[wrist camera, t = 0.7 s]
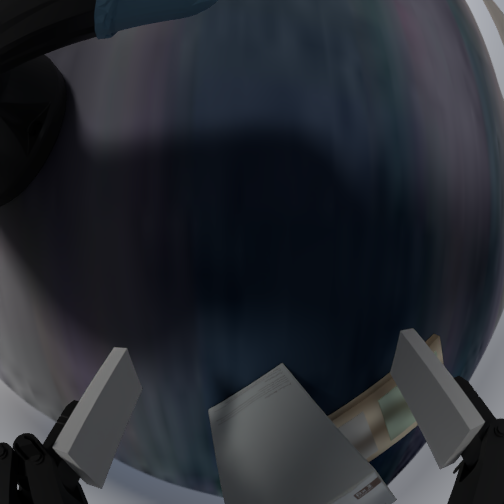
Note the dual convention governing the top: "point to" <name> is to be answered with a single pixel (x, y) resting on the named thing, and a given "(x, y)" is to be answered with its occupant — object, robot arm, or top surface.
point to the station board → (379, 414)
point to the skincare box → (287, 449)
